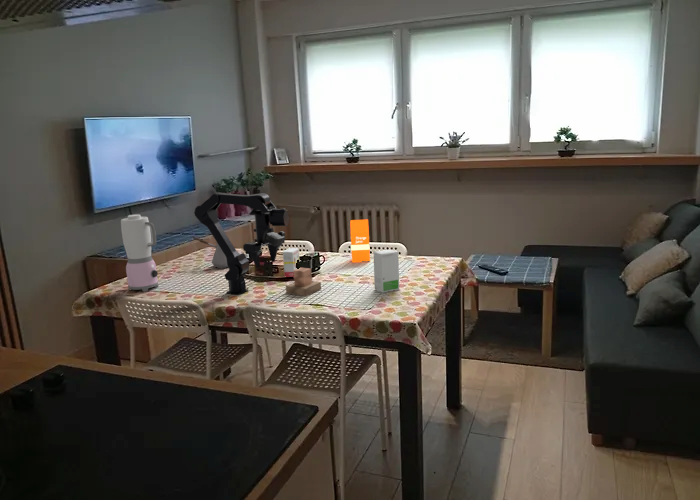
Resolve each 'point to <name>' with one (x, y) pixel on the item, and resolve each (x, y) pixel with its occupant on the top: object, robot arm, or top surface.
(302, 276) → the terracotta cube
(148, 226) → the blender
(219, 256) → the coffee pot
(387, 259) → the skincare box
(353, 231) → the orange juice
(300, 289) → the tan square slab
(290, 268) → the ink box
